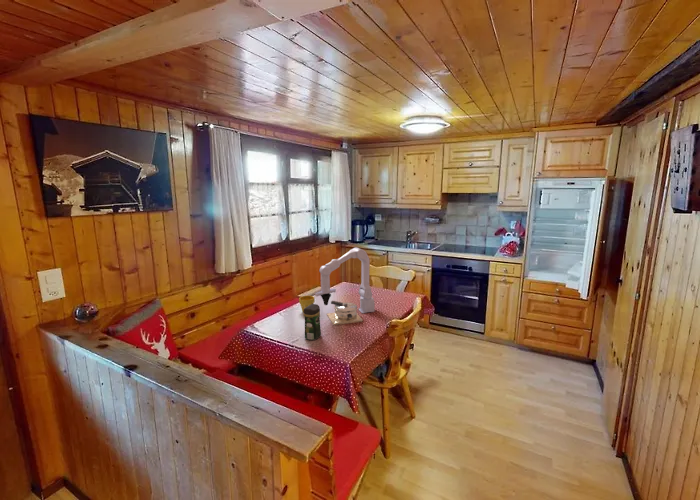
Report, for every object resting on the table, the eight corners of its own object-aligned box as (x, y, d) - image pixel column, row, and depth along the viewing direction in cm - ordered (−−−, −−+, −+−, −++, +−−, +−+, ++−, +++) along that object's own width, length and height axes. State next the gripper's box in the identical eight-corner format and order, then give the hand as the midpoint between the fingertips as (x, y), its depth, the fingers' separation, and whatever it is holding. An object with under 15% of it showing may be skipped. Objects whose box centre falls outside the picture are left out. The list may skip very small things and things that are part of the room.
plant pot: (312, 314, 219) (311, 300, 217) (297, 313, 221) (296, 299, 219) (316, 309, 229) (316, 295, 227) (302, 308, 231) (302, 295, 229)
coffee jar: (310, 332, 191) (309, 302, 188) (322, 334, 188) (322, 303, 185) (302, 339, 182) (300, 307, 179) (314, 341, 179) (313, 309, 176)
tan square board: (352, 309, 227) (352, 301, 226) (362, 321, 206) (362, 312, 205) (325, 312, 221) (325, 304, 220) (333, 325, 201) (333, 316, 199)
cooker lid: (361, 306, 214) (361, 302, 214) (349, 313, 202) (349, 309, 202) (338, 301, 224) (338, 297, 223) (325, 308, 212) (325, 304, 211)
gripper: (331, 281, 218) (331, 300, 220) (312, 285, 209) (313, 305, 211) (337, 283, 212) (337, 303, 214) (318, 287, 203) (318, 308, 206)
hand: (325, 304), depth 212 cm, fingers closed
